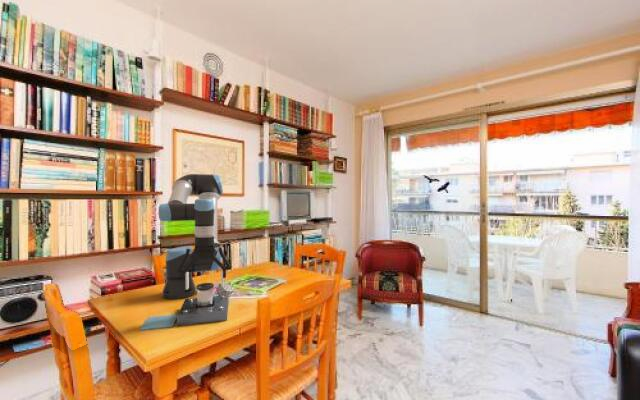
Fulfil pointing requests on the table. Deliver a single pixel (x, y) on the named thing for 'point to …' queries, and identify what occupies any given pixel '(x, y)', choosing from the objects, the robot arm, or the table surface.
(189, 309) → the housing
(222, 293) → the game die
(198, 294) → the silver cylinder
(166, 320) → the mat
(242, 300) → the table surface
